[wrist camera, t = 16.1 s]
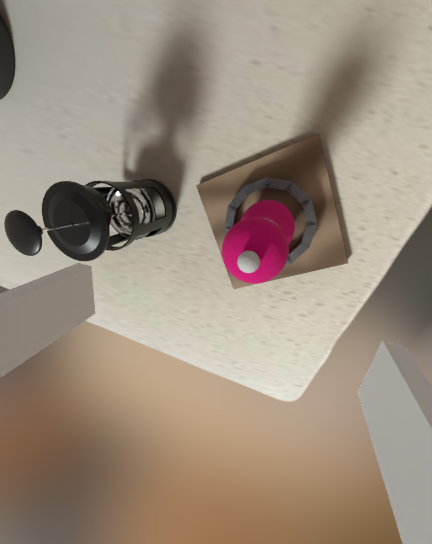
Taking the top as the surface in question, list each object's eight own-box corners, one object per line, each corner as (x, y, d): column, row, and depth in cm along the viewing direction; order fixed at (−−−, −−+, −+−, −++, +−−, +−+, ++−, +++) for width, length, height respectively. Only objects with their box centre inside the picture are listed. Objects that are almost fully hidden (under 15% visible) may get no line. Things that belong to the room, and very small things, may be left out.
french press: (187, 196, 40) (75, 215, 19) (168, 245, 44) (59, 303, 23) (128, 164, 41) (-39, 149, 20) (115, 214, 45) (-35, 244, 24)
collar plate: (199, 185, 39) (196, 185, 38) (317, 134, 32) (318, 133, 31) (235, 286, 43) (233, 289, 42) (346, 260, 36) (348, 263, 35)
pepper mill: (260, 254, 38) (232, 320, 21) (236, 214, 37) (184, 247, 19) (303, 231, 35) (314, 285, 17) (279, 187, 34) (264, 196, 16)
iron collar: (218, 196, 37) (213, 197, 35) (301, 164, 33) (302, 163, 30) (243, 270, 40) (240, 275, 38) (323, 250, 36) (325, 255, 33)
